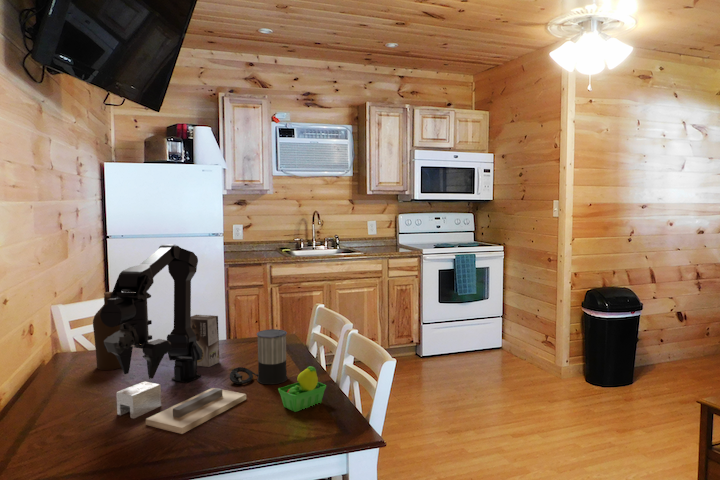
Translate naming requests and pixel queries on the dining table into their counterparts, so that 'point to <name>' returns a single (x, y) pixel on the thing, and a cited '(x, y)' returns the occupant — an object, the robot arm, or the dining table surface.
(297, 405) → the fruit basket
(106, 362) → the olive oil
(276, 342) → the milk frother
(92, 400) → the dining table surface
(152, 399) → the saddle block
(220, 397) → the rail board
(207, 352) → the coffee box
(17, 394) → the dining table surface
